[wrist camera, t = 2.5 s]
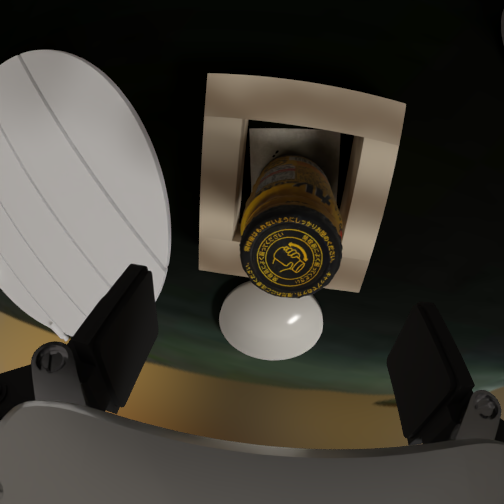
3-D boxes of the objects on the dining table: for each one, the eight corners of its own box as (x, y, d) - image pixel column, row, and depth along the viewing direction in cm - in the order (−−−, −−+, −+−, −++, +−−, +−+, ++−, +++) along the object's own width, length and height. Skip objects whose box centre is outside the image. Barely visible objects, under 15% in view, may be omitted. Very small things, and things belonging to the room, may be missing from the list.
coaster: (223, 270, 30) (220, 275, 29) (333, 285, 29) (334, 291, 29) (219, 346, 36) (218, 352, 35) (310, 358, 35) (310, 365, 34)
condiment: (252, 223, 27) (226, 309, 17) (249, 128, 23) (213, 155, 13) (334, 226, 27) (356, 314, 16) (339, 130, 22) (380, 160, 12)
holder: (219, 76, 21) (207, 73, 18) (391, 102, 20) (406, 104, 17) (208, 250, 29) (198, 269, 26) (352, 271, 28) (358, 292, 25)
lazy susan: (64, 357, 44) (55, 370, 41) (-56, 189, 31) (-69, 196, 28) (250, 266, 30) (245, 287, 27) (52, -13, 16) (32, -18, 14)
